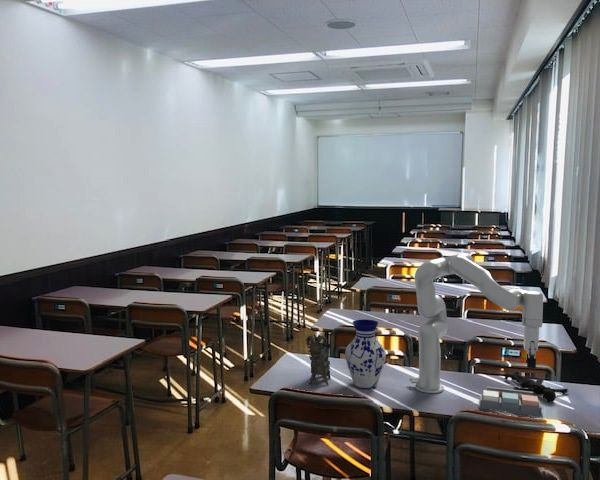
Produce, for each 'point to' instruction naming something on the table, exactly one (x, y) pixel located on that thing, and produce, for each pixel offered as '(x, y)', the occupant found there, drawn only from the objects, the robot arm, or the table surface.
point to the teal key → (509, 398)
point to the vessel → (319, 357)
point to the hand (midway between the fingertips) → (530, 364)
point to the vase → (365, 355)
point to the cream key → (491, 395)
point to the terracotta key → (529, 400)
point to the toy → (535, 387)
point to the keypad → (508, 406)
